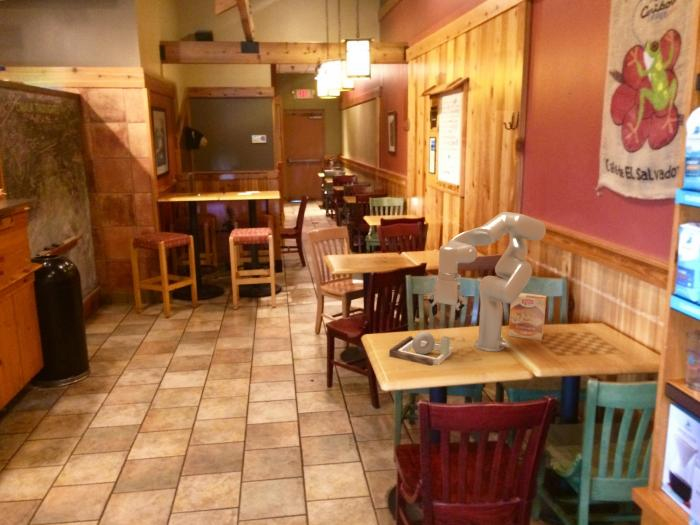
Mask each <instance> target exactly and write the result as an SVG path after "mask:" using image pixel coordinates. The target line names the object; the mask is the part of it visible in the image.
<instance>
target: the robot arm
mask: <svg viewBox="0 0 700 525" xmlns="http://www.w3.org/2000/svg"><path fill="white" fill-rule="evenodd" d="M546 233H547V228H546V225H545V224H544V222H543V221H541V220H538V219H535V218H534V217H530V216H528V215H526V214H521V213H519V212H518V213H517V212H512V211H511V212H510V211H502V212H500V213H498V214H497V215H496V216H494V217H493V218H491V219H490V220H489V221H487V222H486V223H484V224H483V225H482V226H479V227H476V228H473V229H469V230H466V231H463V232H461V233H459V234H457V235H456V236H454V237H453V238H451V239H450V240H449V241H448V242H447V243H446V244H443V245H441V246H440V247H439V250H438V252H439V253H438V273H437V275H438V276H437V278H436V280H435V284H434V291H431V292H429V293H427V294H426V297H427V299H428V302H429V303H430V306H431V313H432V316H433V317H434V316H436V315H437V314H438V307H439V306H438V304H444V305H450V306H454V307H455V312H454V320H456V321H457V320H459V319H460V318H461V316H462V315H461V311H462V309H463V308H464V307H465V306H466V305H467V304H468V302H469V301H468V299H467V298H466V297H464V296H462V295H461V294H462V293H461V284H460V283H461V282H460V280H459V279H461V274H460V273H459V272H458V267H459V266H458V264H470V263H473V262H475V260H476V259H477V257H478V250H477V248H476V247H479V246H481V247H482V246H488V245H489V246H490V245H492V244H495V243H496V242H497V241H498V240H500V239H501V238H502V237H504V236H505V235H506V234H509V243H508V246H507V248H506V250H505V251H504V252H503V254H502V256H501V257H500V258H499V260H498V261H497V263H496V265H495V268H494V272H495V273H496V275H497V276H494V275H487V276H486V275H485V276H483V278H482V279H481V280H480V281H479V285H478V289H479V290H478V291H479V292H478V293H479V298H480V311H479V322H478V323H479V325H478V338H477V339H478V340H476V341H475V342H474V348H477V350H480V351H485V352H490V353H491V352H500V351H502V350H504V348H511V343H510V341H508V340H504V337H503V336H502V330H503V328H502V327H503V317H504V316H503V314H504V308H503V307H504V306H503V304H511V303H512V302H514V301H515V300H516V299H517V298H518V296H519V295H520V293H523V291H524V290H525V287H526V286H527V284H528V283H529V281H530V280H531V278H532V273H533V268H532V265H531V264H530V263H529V261H526V260H525V258H526V257H527V255H528V245H527V241H526V240H529V241H534V242H535V241H536V242H537V241H541V240H542V239H543V238H544V237H545V236H546ZM432 296H433V298H432ZM460 302H461V303H460Z"/></svg>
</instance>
